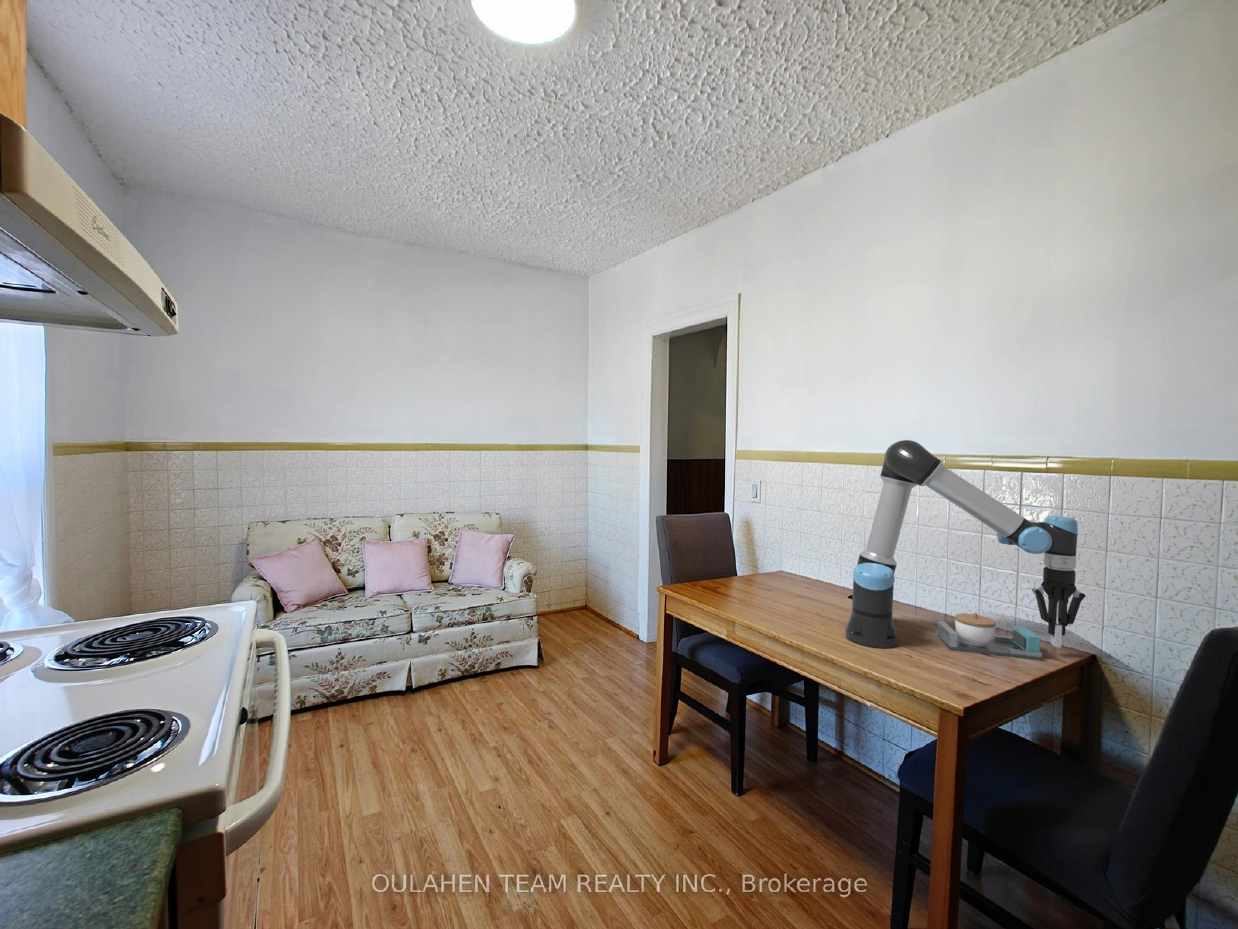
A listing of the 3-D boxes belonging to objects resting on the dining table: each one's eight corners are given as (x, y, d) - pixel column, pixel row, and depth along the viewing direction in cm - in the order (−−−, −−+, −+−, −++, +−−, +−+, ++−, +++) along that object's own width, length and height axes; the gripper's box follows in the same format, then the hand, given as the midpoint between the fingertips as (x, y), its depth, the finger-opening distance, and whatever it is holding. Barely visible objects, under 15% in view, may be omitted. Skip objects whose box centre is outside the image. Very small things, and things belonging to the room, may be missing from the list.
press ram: (1025, 652, 161) (1026, 636, 161) (1011, 641, 171) (1012, 625, 171) (1039, 654, 160) (1040, 637, 160) (1024, 643, 170) (1025, 627, 170)
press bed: (949, 649, 166) (950, 633, 166) (937, 636, 178) (937, 621, 178) (1041, 660, 159) (1042, 643, 159) (1022, 645, 172) (1022, 629, 171)
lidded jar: (993, 652, 162) (995, 621, 162) (951, 643, 169) (953, 613, 168) (995, 642, 171) (997, 613, 170) (955, 634, 177) (957, 606, 177)
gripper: (1039, 568, 161) (1036, 647, 162) (1092, 572, 157) (1088, 652, 158) (1028, 563, 168) (1025, 639, 169) (1078, 567, 165) (1075, 644, 165)
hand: (1055, 645), depth 164 cm, fingers closed
